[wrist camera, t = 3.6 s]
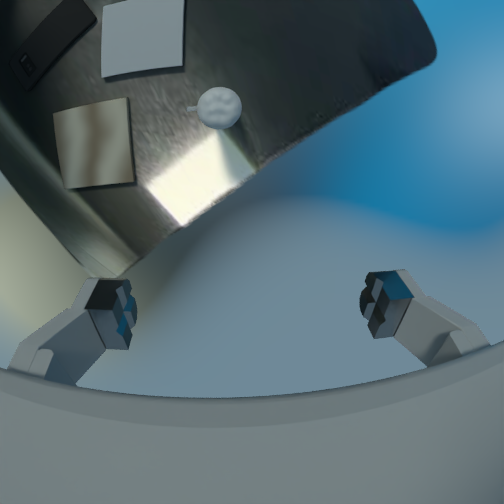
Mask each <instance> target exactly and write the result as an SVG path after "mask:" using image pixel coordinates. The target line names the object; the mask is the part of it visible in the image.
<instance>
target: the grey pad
mask: <svg viewBox="0 0 504 504" xmlns="http://www.w3.org/2000/svg"><path fill="white" fill-rule="evenodd" d="M184 6H185V0H128V1H123V2H119V3H115V4H111V5H107V6H104V7H103V21H102V46H101V72H102V78H104V77H109V76H114V75H119V74H124V73H130V72H136V71H143V70H150V69H157V68H166V67H176V66H183V31H184Z"/></svg>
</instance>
